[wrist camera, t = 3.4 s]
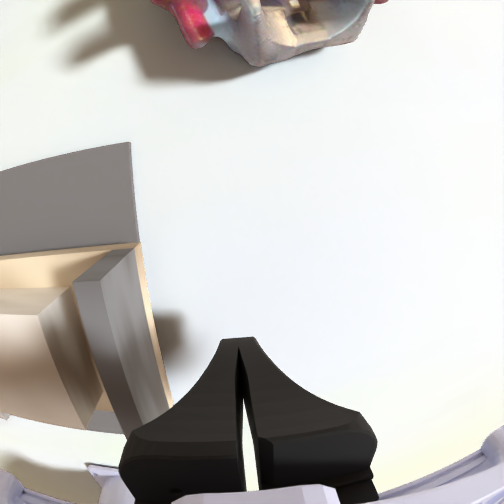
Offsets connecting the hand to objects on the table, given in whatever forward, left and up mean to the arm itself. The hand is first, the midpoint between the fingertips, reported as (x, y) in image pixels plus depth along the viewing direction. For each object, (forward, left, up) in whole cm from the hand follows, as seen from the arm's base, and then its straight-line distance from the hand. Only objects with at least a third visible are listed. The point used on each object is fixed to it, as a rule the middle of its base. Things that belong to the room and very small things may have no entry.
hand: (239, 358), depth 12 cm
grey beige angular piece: (0, +10, -4) cm, 11 cm away
